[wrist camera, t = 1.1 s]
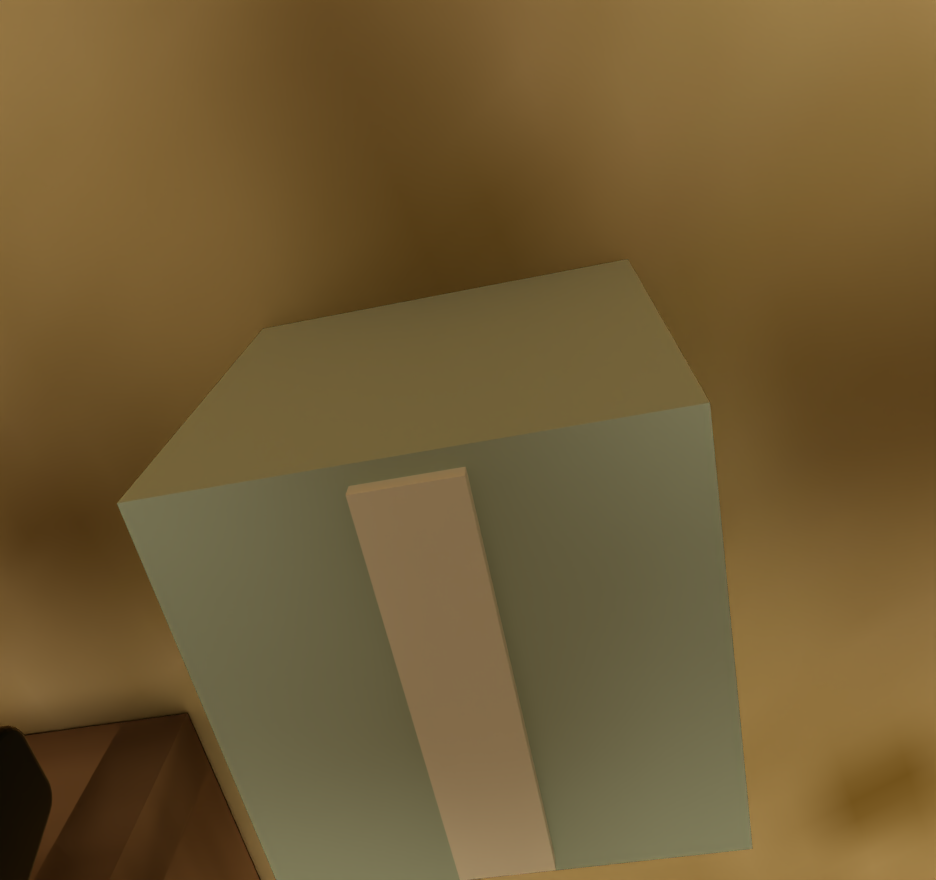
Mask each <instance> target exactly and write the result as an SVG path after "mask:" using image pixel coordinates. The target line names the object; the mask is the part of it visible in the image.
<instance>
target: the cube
mask: <svg viewBox="0 0 936 880" xmlns="http://www.w3.org/2000/svg"><path fill="white" fill-rule="evenodd" d="M117 505H118V507H119V509H120V512H121V514H122V517H123V519H124V521H125V524H126V526H127V528H128V531H129V533H130V535H131V538H132V540H133V543H134V545H135V547H136V550H137V552H138V554H139V557H140V559H141V562H142V564H143V566H144V569H145V571H146V573H147V576H148V578H149V580H150V583H151V585H152V588H153V590H154V592H155V595H156V597H157V599H158V602H159V604H160V606H161V609H162V611H163V614H164V616H165V618H166V621H167V623H168V625H169V628H170V630H171V632H172V635H173V637H174V640H175V642H176V644H177V647H178V649H179V651H180V654H181V656H182V658H183V661H184V663H185V666H186V668H187V670H188V673H189V675H190V677H191V680H192V682H193V685H194V687H195V689H196V692H197V694H198V696H199V699H200V701H201V703H202V706H203V708H204V711H205V713H206V715H207V718H208V720H209V722H210V725H211V727H212V729H213V732H214V734H215V737H216V739H217V741H218V744H219V746H220V748H221V751H222V753H223V755H224V758H225V760H226V763H227V765H228V767H229V770H230V772H231V774H232V777H233V779H234V781H235V784H236V786H237V789H238V791H239V793H240V796H241V798H242V800H243V803H244V805H245V808H246V810H247V812H248V815H249V817H250V819H251V822H252V824H253V826H254V829H255V831H256V834H257V836H258V838H259V841H260V843H261V845H262V848H263V850H264V852H265V855H266V857H267V860H268V862H269V864H270V867H271V869H272V871H273V874H274V876H275V878H276V880H472V879H481V878H490V877H500V876H509V875H518V874H527V873H536V872H545V871H555V870H564V869H573V868H582V867H591V866H600V865H609V864H619V863H628V862H637V861H646V860H655V859H664V858H674V857H683V856H692V855H701V854H710V853H719V852H729V851H738V850H747V849H753V848H752V837H751V827H750V817H749V806H748V796H747V785H746V775H745V764H744V754H743V743H742V733H741V722H740V712H739V701H738V691H737V680H736V670H735V659H734V649H733V638H732V628H731V617H730V607H729V596H728V586H727V576H726V565H725V555H724V544H723V534H722V523H721V513H720V502H719V492H718V481H717V471H716V460H715V450H714V439H713V429H712V418H711V408H710V402H709V400H708V398H707V396H706V395H705V393H704V391H703V389H702V388H701V386H700V384H699V382H698V381H697V379H696V377H695V375H694V374H693V372H692V370H691V368H690V367H689V365H688V363H687V361H686V360H685V358H684V356H683V354H682V353H681V351H680V349H679V347H678V346H677V344H676V342H675V340H674V339H673V337H672V335H671V333H670V332H669V330H668V328H667V326H666V325H665V323H664V321H663V319H662V318H661V316H660V314H659V312H658V311H657V309H656V307H655V305H654V304H653V302H652V300H651V298H650V297H649V295H648V293H647V291H646V290H645V288H644V286H643V284H642V283H641V281H640V279H639V277H638V276H637V274H636V272H635V270H634V269H633V267H632V265H631V263H630V262H629V260H628V259H625V260H620V261H615V262H610V263H604V264H599V265H594V266H589V267H583V268H578V269H573V270H568V271H563V272H557V273H552V274H547V275H542V276H536V277H531V278H526V279H521V280H515V281H510V282H505V283H500V284H494V285H489V286H484V287H479V288H473V289H468V290H463V291H458V292H452V293H447V294H442V295H437V296H431V297H426V298H421V299H416V300H411V301H405V302H400V303H395V304H390V305H384V306H379V307H374V308H369V309H363V310H358V311H353V312H348V313H342V314H337V315H332V316H327V317H321V318H316V319H311V320H306V321H300V322H295V323H290V324H285V325H280V326H274V327H269V328H264V329H262V330H261V331H260V333H259V334H258V335H257V336H256V337H255V339H254V340H253V341H252V342H251V343H250V345H249V346H248V347H247V348H246V349H245V351H244V352H243V353H242V354H241V355H240V356H239V358H238V359H237V360H236V361H235V362H234V364H233V365H232V366H231V367H230V368H229V370H228V371H227V372H226V373H225V374H224V376H223V377H222V378H221V379H220V380H219V382H218V383H217V384H216V385H215V386H214V388H213V389H212V390H211V391H210V392H209V394H208V395H207V396H206V397H205V398H204V400H203V401H202V402H201V403H200V404H199V406H198V407H197V408H196V409H195V410H194V412H193V413H192V414H191V415H190V416H189V418H188V419H187V420H186V421H185V422H184V424H183V425H182V426H181V427H180V428H179V429H178V431H177V432H176V433H175V434H174V435H173V437H172V438H171V439H170V440H169V441H168V443H167V444H166V445H165V446H164V447H163V449H162V450H161V451H160V452H159V453H158V455H157V456H156V457H155V458H154V459H153V461H152V462H151V463H150V464H149V465H148V467H147V468H146V469H145V470H144V471H143V473H142V474H141V475H140V476H139V477H138V479H137V480H136V481H135V482H134V483H133V485H132V486H131V487H130V488H129V489H128V491H127V492H126V493H125V494H124V495H123V496H122V498H121V499H120V500H119V501H118V502H117Z"/></svg>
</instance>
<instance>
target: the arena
mask: <svg viewBox="0 0 936 880" xmlns="http://www.w3.org/2000/svg"><path fill="white" fill-rule="evenodd" d="M25 738H26V740H27V741H28V743H29V745H30V747H31V749H32V751H33V752H34V754H35V756H36V758H37V760H38V762H39V764H40V765H41V767H42V769H43V771H44V773H45V775H46V777H47V778H48V780H49V783H50V785H51V789H52V808H51V812H50V815H49V819H48V822H47V825H46V828H45V831H44V835H43V838H42V841H41V844H40V847H39V851H38V854H37V857H36V860H35V863H34V867H33V870H32V873H31V876H30V879H29V880H260V879H259V877H258V875H257V873H256V870H255V868H254V866H253V863H252V861H251V859H250V856H249V854H248V852H247V850H246V847H245V845H244V843H243V840H242V838H241V836H240V833H239V831H238V829H237V826H236V824H235V822H234V820H233V817H232V815H231V813H230V810H229V808H228V806H227V803H226V801H225V799H224V797H223V794H222V792H221V790H220V787H219V785H218V783H217V780H216V778H215V776H214V774H213V771H212V769H211V767H210V764H209V762H208V760H207V757H206V755H205V753H204V750H203V748H202V746H201V744H200V741H199V739H198V737H197V734H196V732H195V730H194V727H193V725H192V723H191V721H190V718H189V716H188V714H180V715H172V716H165V717H158V718H150V719H143V720H136V721H128V722H121V723H114V724H106V725H99V726H92V727H85V728H77V729H70V730H63V731H55V732H48V733H41V734H33V735H26V736H25Z"/></svg>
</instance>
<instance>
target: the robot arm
mask: <svg viewBox="0 0 936 880" xmlns="http://www.w3.org/2000/svg"><path fill="white" fill-rule="evenodd" d="M51 808H52V789H51V785H50V783H49V780H48V778H47V777H46V775H45V773H44V771H43V769H42V767H41V765H40V764H39V762H38V760H37V758H36V756H35V754H34V752H33V751H32V749H31V747H30V745H29V743H28V741H27V740H26V738H25V736H24V735H23V733H22V732H21V731H20V730H18V729H17V728H16V727H13V726H0V880H29V879H30V876H31V873H32V870H33V867H34V863H35V860H36V857H37V854H38V851H39V847H40V844H41V841H42V838H43V835H44V831H45V828H46V825H47V822H48V819H49V815H50V812H51Z"/></svg>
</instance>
